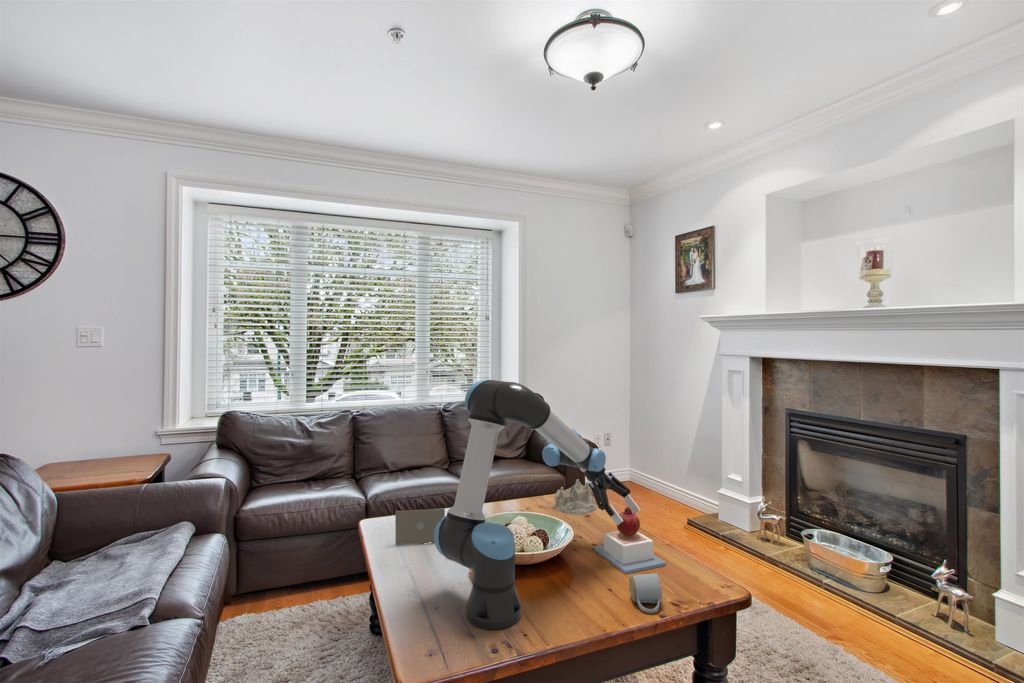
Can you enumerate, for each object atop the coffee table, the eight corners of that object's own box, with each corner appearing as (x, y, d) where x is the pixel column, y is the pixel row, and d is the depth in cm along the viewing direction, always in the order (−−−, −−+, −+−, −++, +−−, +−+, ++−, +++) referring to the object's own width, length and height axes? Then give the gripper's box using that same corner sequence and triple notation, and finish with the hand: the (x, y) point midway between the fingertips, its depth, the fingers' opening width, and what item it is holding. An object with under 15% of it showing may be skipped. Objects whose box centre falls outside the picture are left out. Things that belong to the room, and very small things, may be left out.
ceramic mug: (628, 594, 148) (628, 568, 148) (655, 594, 148) (655, 568, 148) (636, 614, 137) (636, 587, 137) (666, 615, 137) (666, 587, 137)
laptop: (444, 530, 198) (444, 497, 198) (445, 543, 185) (444, 508, 185) (398, 533, 195) (398, 500, 195) (395, 546, 183) (395, 511, 183)
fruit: (643, 534, 174) (643, 506, 174) (634, 542, 167) (634, 512, 167) (621, 529, 178) (621, 501, 178) (612, 537, 172) (612, 508, 172)
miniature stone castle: (601, 509, 220) (598, 475, 220) (572, 518, 211) (570, 482, 211) (578, 502, 233) (576, 469, 233) (550, 510, 224) (548, 476, 225)
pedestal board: (665, 565, 166) (665, 543, 166) (625, 574, 160) (625, 551, 160) (630, 542, 185) (630, 522, 185) (592, 549, 179) (592, 529, 179)
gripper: (601, 466, 193) (637, 513, 184) (566, 480, 174) (604, 534, 164) (613, 454, 190) (651, 502, 180) (579, 468, 170) (619, 522, 161)
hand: (629, 517), depth 172 cm, fingers open, 13 cm apart
